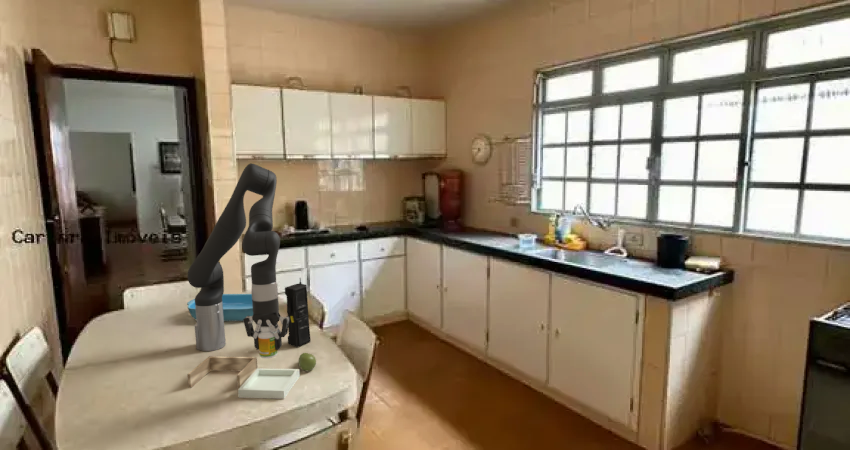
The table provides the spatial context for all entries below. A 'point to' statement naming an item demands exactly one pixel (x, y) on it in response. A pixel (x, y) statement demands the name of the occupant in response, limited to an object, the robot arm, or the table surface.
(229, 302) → the casserole dish
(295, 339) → the portable radio
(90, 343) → the table surface
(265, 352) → the supplement bottle
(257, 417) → the table surface
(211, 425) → the table surface
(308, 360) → the pear
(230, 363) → the frame
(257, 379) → the plastic tray
